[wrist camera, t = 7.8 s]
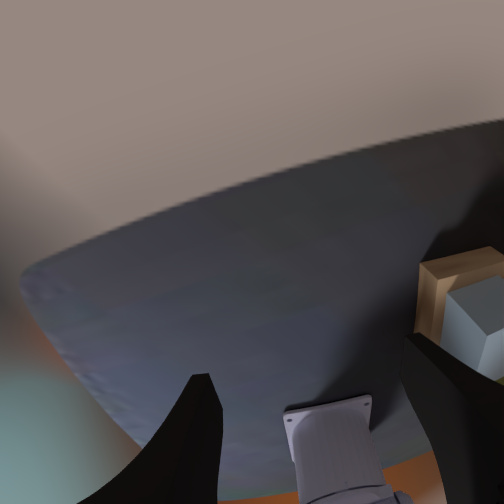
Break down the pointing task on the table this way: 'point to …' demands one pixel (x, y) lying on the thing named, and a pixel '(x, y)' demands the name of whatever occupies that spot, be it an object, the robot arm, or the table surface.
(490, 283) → the grey cube
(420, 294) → the oak block
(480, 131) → the table surface
